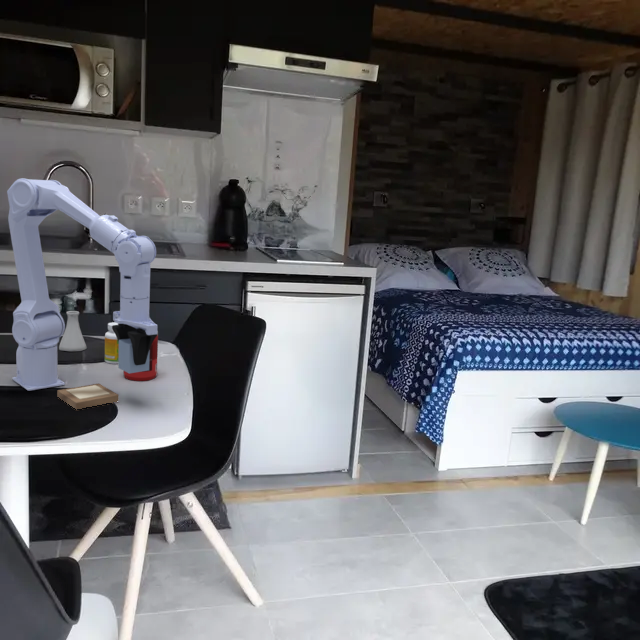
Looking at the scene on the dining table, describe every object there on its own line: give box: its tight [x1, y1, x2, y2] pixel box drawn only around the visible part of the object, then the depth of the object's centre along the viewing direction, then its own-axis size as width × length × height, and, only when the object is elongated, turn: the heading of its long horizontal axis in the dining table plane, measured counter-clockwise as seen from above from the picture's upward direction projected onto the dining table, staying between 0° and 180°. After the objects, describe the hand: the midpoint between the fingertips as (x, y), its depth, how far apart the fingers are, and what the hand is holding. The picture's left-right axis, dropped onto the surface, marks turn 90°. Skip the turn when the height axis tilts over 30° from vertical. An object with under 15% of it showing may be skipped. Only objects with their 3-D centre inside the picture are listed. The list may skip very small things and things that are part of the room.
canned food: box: [122, 330, 159, 382], centre depth 149 cm, size 8×8×11 cm
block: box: [117, 339, 150, 373], centre depth 131 cm, size 4×4×6 cm
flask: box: [58, 310, 88, 352], centre depth 167 cm, size 7×7×10 cm
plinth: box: [56, 383, 120, 411], centre depth 132 cm, size 9×9×2 cm
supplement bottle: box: [104, 321, 119, 365], centre depth 159 cm, size 5×5×10 cm
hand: (133, 361), depth 131 cm, fingers closed on block, 4 cm apart
